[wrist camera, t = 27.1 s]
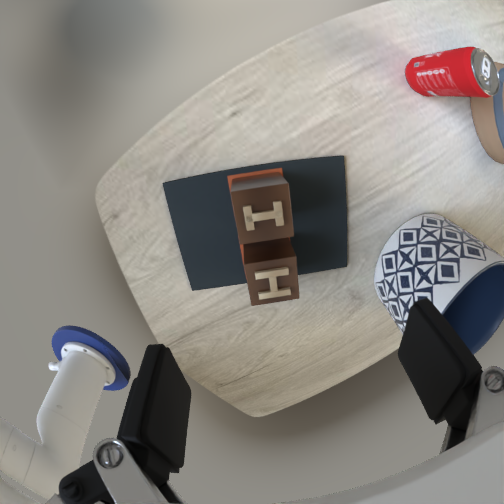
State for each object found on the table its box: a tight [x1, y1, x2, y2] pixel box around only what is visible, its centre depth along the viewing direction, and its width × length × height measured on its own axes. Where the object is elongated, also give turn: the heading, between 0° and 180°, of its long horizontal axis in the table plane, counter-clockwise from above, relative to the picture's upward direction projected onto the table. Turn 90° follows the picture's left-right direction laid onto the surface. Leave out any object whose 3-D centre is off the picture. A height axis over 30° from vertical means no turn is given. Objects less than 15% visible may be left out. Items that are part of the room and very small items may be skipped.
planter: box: [374, 214, 504, 355], centre depth 28 cm, size 16×16×14 cm
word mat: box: [163, 156, 347, 291], centre depth 31 cm, size 20×14×1 cm
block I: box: [230, 172, 294, 245], centre depth 26 cm, size 5×5×6 cm
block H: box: [243, 237, 299, 306], centre depth 29 cm, size 5×5×6 cm
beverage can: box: [405, 47, 500, 98], centre depth 17 cm, size 5×5×12 cm
